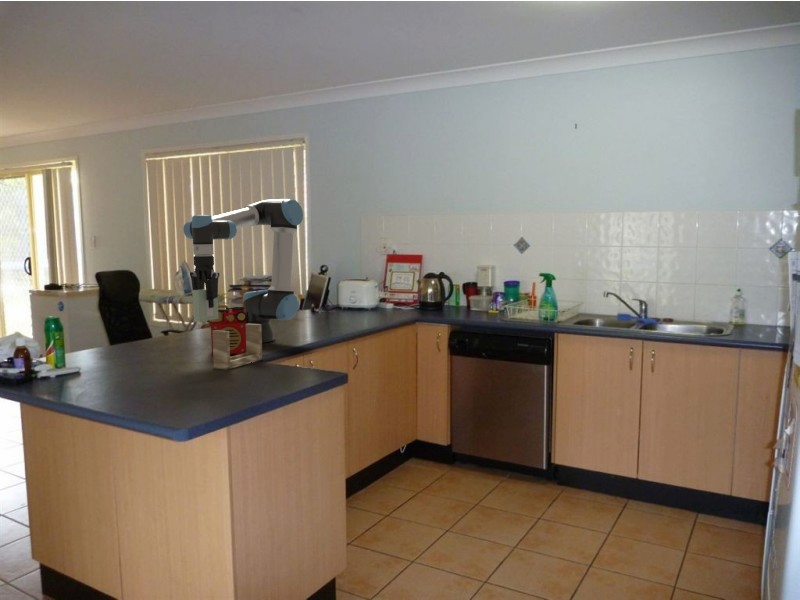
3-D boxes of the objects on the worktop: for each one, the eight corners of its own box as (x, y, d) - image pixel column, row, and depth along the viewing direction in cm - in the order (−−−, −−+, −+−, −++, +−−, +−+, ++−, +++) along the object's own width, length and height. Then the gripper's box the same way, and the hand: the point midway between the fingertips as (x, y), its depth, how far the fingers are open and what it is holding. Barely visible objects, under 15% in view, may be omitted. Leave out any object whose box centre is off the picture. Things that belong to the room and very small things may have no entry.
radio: (210, 356, 253) (208, 307, 251) (210, 352, 263) (209, 304, 260) (250, 354, 257) (248, 306, 255) (249, 350, 267) (248, 303, 265)
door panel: (212, 317, 249) (211, 287, 248) (218, 318, 248) (217, 288, 246) (193, 321, 240) (192, 290, 239) (199, 322, 239) (198, 290, 238)
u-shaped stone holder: (250, 358, 250) (248, 323, 248) (262, 359, 247) (261, 324, 246) (213, 368, 232) (212, 330, 231) (226, 369, 229) (225, 331, 228)
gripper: (180, 255, 241) (183, 315, 244) (212, 256, 234) (214, 318, 237) (195, 254, 248) (198, 313, 251) (226, 255, 241) (228, 315, 244)
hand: (206, 315), depth 244 cm, fingers closed on door panel, 3 cm apart
